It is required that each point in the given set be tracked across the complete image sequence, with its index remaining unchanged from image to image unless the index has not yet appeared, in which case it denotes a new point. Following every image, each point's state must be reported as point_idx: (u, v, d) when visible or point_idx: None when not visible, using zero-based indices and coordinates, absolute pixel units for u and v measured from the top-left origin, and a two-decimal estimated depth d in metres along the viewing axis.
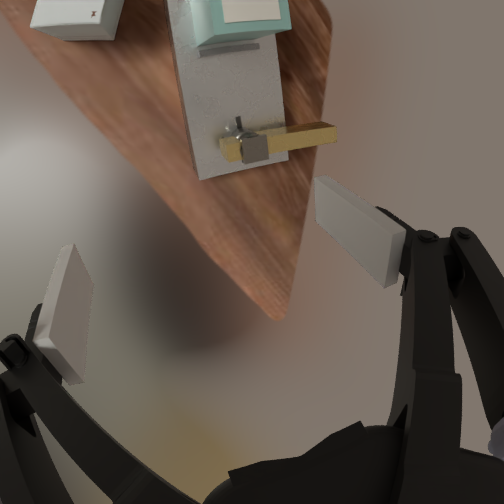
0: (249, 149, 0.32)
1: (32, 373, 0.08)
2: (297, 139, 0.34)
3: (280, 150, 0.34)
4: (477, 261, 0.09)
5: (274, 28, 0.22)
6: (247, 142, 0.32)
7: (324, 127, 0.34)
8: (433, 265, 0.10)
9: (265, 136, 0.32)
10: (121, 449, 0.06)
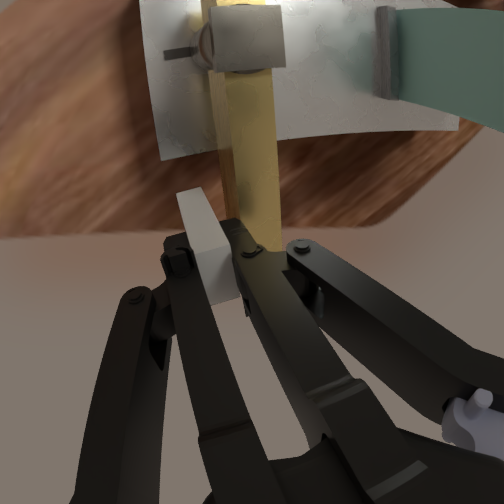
0: (252, 20, 0.10)
1: (189, 288, 0.10)
2: (257, 155, 0.13)
3: (232, 109, 0.12)
4: (333, 273, 0.10)
5: None
6: (272, 17, 0.10)
7: None
8: (270, 279, 0.10)
9: (282, 64, 0.11)
10: (239, 393, 0.07)
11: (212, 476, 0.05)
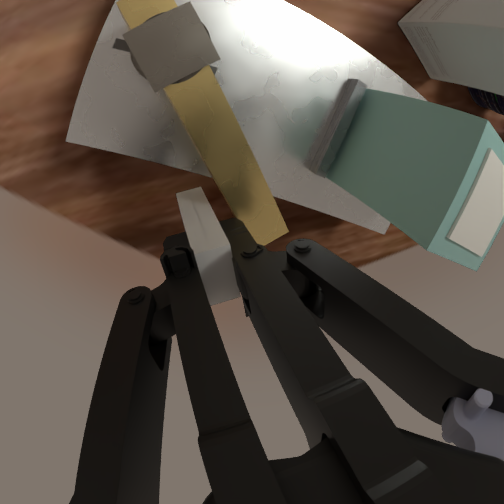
0: (167, 29, 0.09)
1: (189, 288, 0.10)
2: (229, 151, 0.13)
3: (185, 118, 0.12)
4: (333, 273, 0.10)
5: (444, 220, 0.12)
6: (186, 16, 0.09)
7: None
8: (270, 279, 0.10)
9: (216, 57, 0.10)
10: (239, 393, 0.07)
11: (212, 476, 0.05)
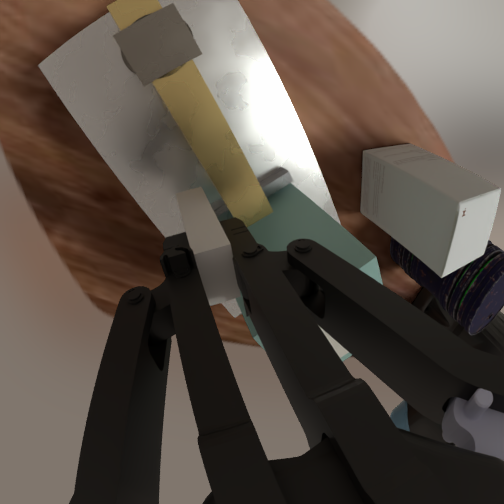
0: (153, 29, 0.10)
1: (188, 288, 0.10)
2: (213, 137, 0.14)
3: (172, 109, 0.13)
4: (333, 273, 0.10)
5: None
6: (170, 17, 0.10)
7: None
8: (271, 278, 0.10)
9: (198, 52, 0.11)
10: (239, 393, 0.07)
11: (212, 476, 0.05)
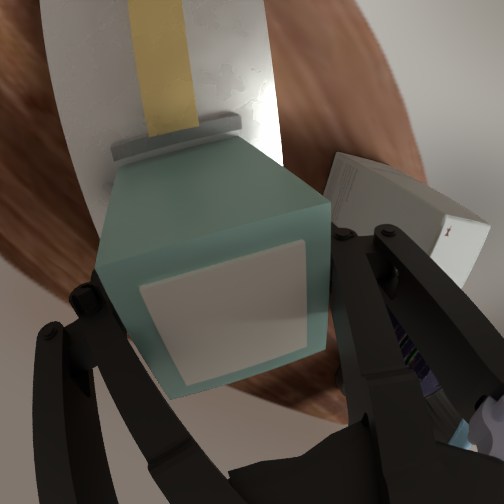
0: None
1: (102, 323, 0.09)
2: (157, 5, 0.08)
3: None
4: (410, 258, 0.10)
5: (151, 255, 0.08)
6: None
7: None
8: (356, 263, 0.10)
9: None
10: (174, 415, 0.07)
11: (173, 500, 0.04)
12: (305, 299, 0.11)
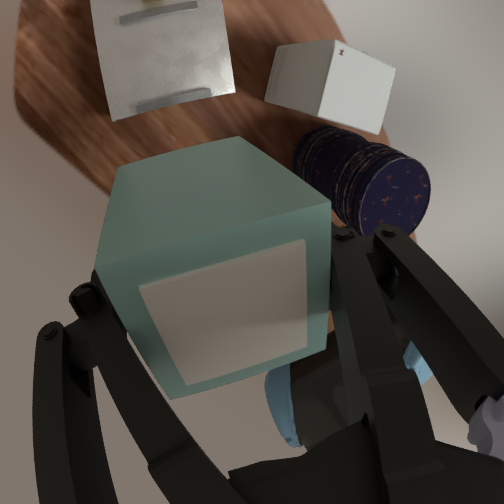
0: None
1: (102, 323, 0.09)
2: None
3: None
4: (410, 258, 0.10)
5: (151, 254, 0.08)
6: None
7: None
8: (356, 263, 0.10)
9: None
10: (174, 415, 0.07)
11: (173, 500, 0.04)
12: (305, 299, 0.11)
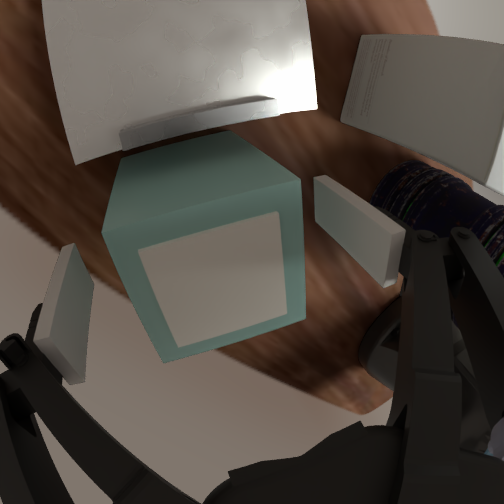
0: None
1: (33, 373, 0.08)
2: None
3: None
4: (476, 261, 0.09)
5: (148, 222, 0.10)
6: None
7: None
8: (433, 265, 0.10)
9: None
10: (121, 449, 0.06)
11: None
12: (282, 266, 0.12)
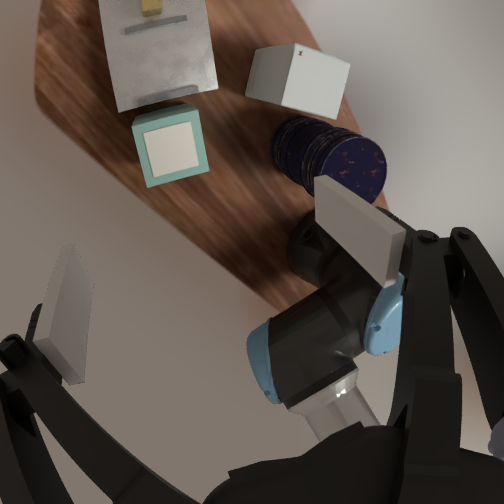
0: None
1: (32, 373, 0.08)
2: None
3: None
4: (477, 261, 0.09)
5: (147, 123, 0.29)
6: None
7: None
8: (433, 265, 0.10)
9: None
10: (121, 449, 0.06)
11: None
12: (193, 142, 0.31)
